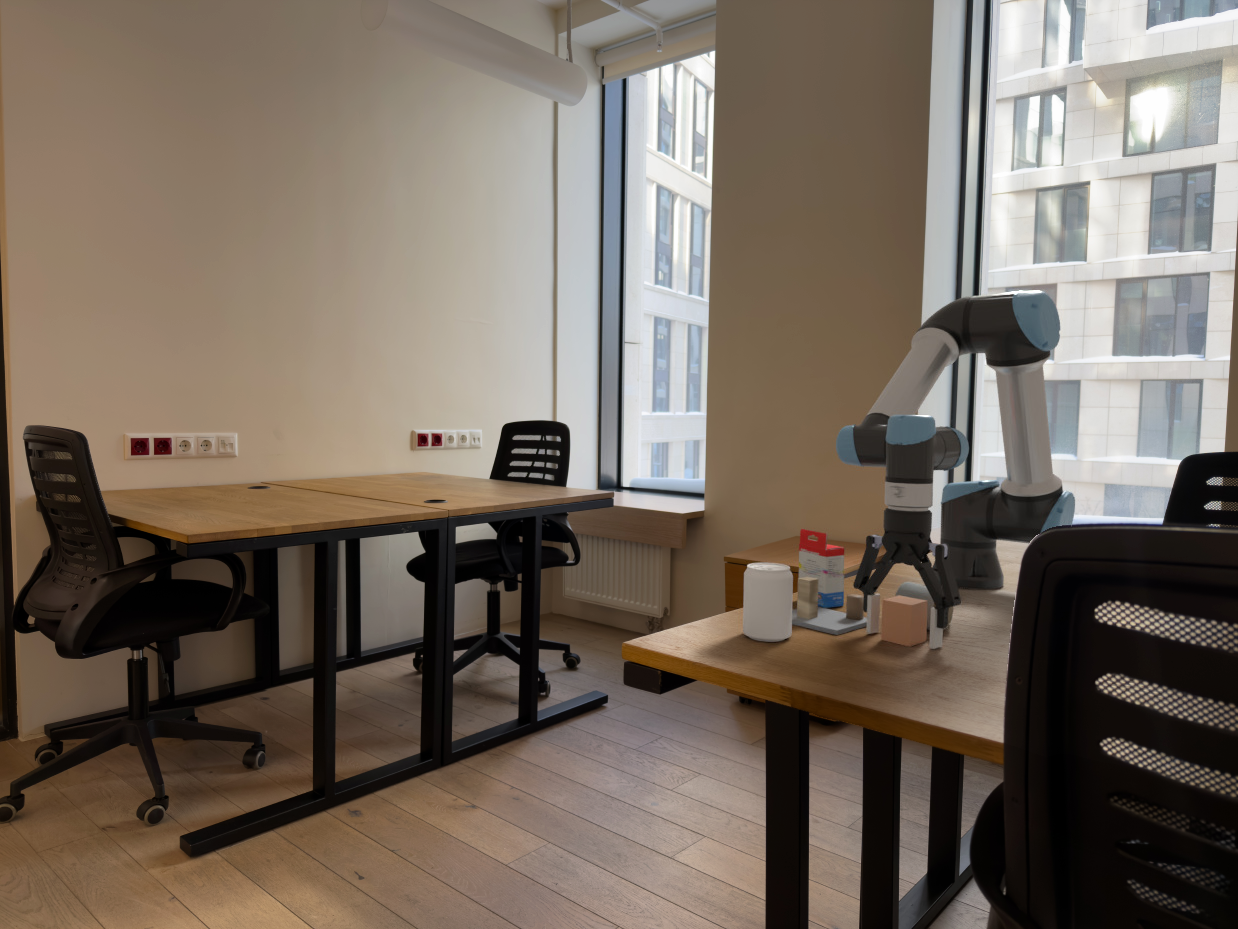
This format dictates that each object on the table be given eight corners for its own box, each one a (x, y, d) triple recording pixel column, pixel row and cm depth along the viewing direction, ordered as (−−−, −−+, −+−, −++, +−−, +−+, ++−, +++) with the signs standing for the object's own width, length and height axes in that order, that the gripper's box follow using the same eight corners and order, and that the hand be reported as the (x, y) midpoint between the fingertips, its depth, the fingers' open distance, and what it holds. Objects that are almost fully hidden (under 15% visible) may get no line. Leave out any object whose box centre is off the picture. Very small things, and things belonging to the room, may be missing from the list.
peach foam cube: (897, 634, 140) (898, 595, 139) (926, 641, 136) (927, 600, 136) (881, 639, 136) (882, 599, 136) (910, 646, 133) (911, 605, 132)
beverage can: (785, 645, 132) (786, 572, 132) (736, 639, 136) (738, 568, 135) (796, 633, 140) (797, 564, 139) (750, 628, 143) (751, 560, 142)
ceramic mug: (935, 635, 139) (937, 591, 139) (891, 626, 145) (892, 583, 145) (963, 626, 147) (965, 584, 146) (920, 617, 153) (922, 577, 152)
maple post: (805, 618, 150) (806, 576, 150) (817, 621, 148) (818, 578, 148) (796, 620, 149) (797, 578, 148) (808, 623, 147) (809, 580, 146)
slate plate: (810, 609, 157) (811, 584, 157) (875, 623, 147) (876, 597, 147) (771, 619, 150) (771, 593, 149) (836, 635, 139) (837, 607, 139)
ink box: (844, 606, 160) (846, 532, 159) (825, 609, 158) (826, 533, 157) (815, 597, 168) (817, 526, 167) (796, 600, 166) (798, 528, 165)
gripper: (834, 503, 141) (830, 628, 142) (965, 516, 124) (960, 659, 125) (859, 500, 146) (855, 622, 147) (988, 513, 129) (982, 651, 130)
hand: (903, 639), depth 136 cm, fingers open, 11 cm apart
